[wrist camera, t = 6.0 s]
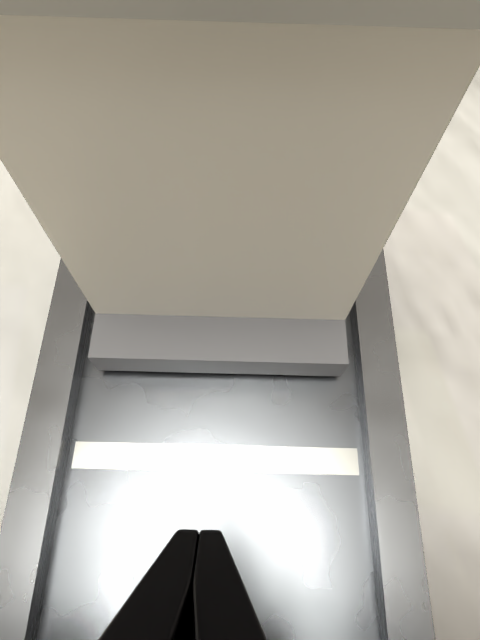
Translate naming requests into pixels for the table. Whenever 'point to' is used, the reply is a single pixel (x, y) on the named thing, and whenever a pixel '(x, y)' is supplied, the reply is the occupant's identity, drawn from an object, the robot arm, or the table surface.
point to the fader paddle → (226, 162)
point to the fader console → (217, 486)
